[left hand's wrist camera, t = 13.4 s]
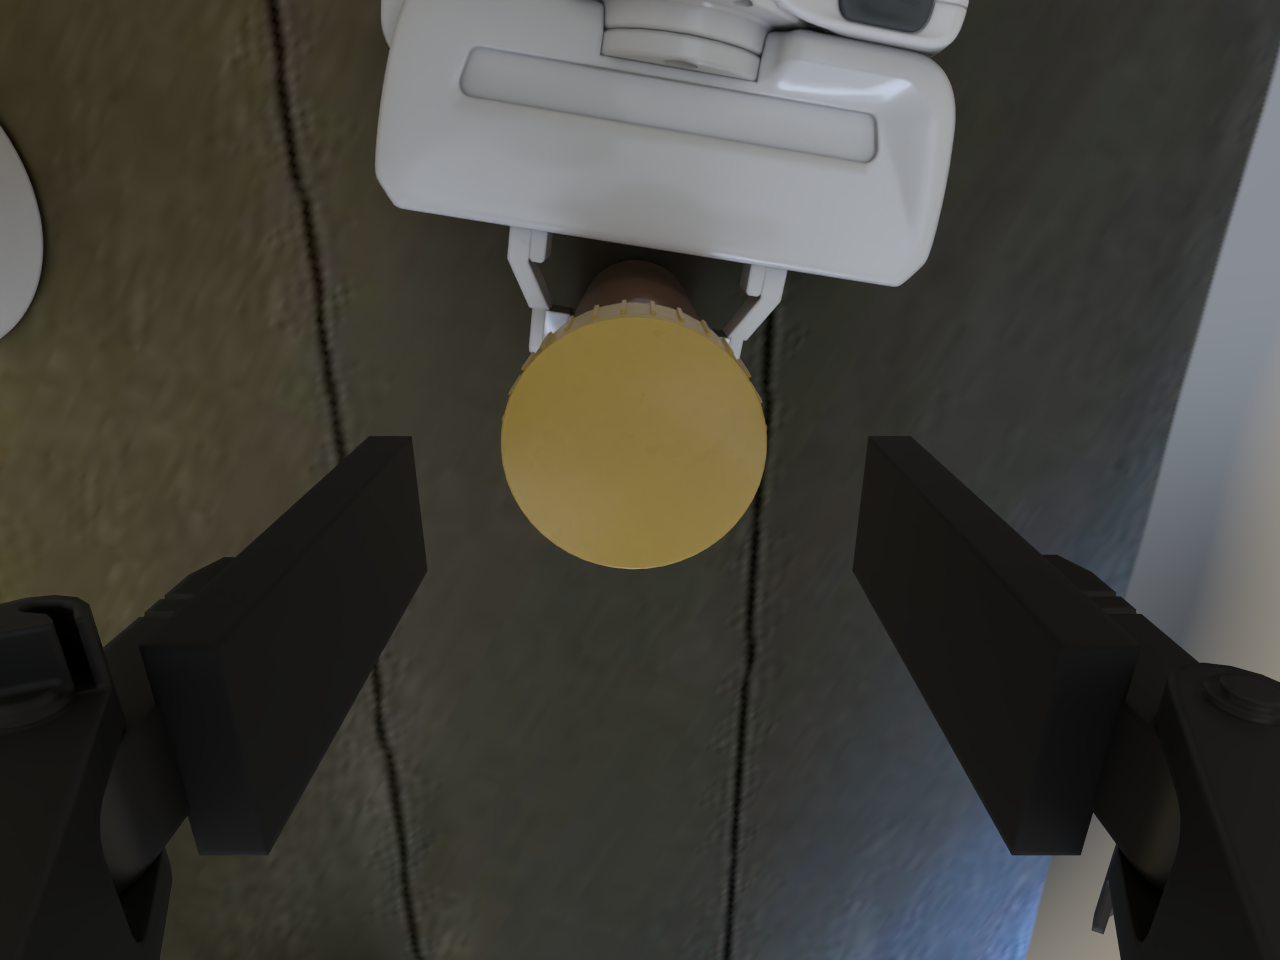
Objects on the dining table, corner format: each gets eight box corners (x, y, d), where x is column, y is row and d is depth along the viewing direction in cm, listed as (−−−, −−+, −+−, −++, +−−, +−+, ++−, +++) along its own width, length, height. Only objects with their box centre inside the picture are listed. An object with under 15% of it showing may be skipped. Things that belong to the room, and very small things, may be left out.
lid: (479, 481, 20) (459, 515, 18) (566, 256, 18) (556, 264, 16) (692, 565, 21) (698, 607, 19) (798, 360, 19) (819, 381, 17)
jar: (563, 346, 36) (488, 499, 18) (605, 240, 35) (570, 291, 16) (663, 389, 37) (689, 577, 19) (709, 288, 35) (787, 387, 17)
